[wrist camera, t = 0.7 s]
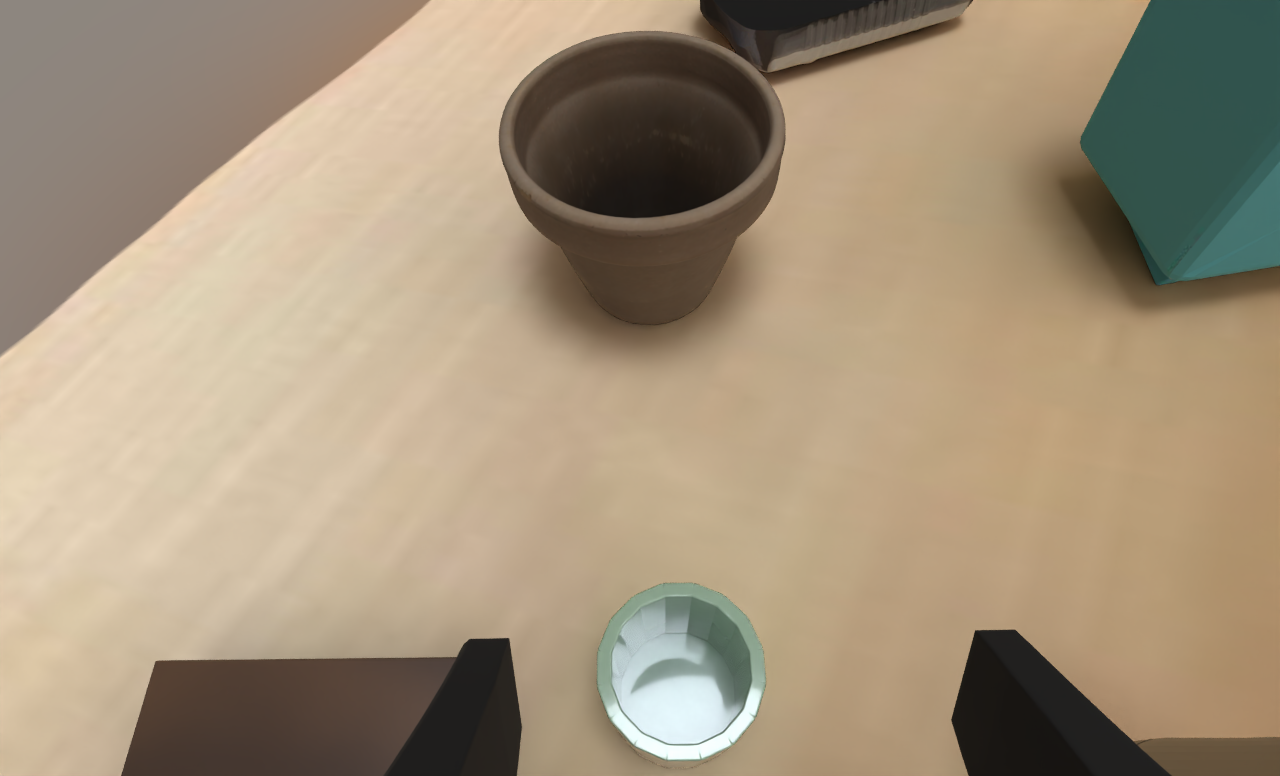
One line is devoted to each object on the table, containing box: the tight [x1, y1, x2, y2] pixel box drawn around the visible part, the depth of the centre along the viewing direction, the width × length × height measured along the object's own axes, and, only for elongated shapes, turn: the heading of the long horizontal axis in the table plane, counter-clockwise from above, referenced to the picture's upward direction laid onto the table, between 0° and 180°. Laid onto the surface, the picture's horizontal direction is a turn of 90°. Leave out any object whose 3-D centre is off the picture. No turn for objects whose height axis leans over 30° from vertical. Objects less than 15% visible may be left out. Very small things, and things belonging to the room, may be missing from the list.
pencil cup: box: [597, 583, 766, 768], centre depth 25 cm, size 5×5×6 cm
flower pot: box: [499, 31, 785, 325], centre depth 33 cm, size 12×11×10 cm
